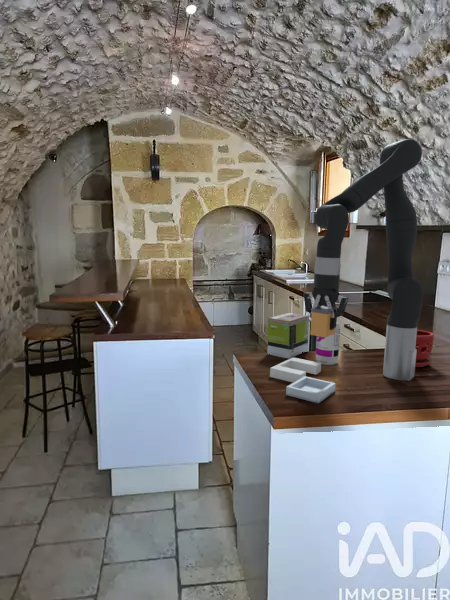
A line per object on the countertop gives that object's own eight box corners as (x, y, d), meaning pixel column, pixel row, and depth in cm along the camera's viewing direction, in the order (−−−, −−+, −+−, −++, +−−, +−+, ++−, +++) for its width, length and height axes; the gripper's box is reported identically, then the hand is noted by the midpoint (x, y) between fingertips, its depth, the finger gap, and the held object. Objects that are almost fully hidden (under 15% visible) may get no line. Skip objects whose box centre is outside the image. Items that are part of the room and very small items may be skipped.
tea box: (286, 347, 178) (288, 311, 176) (308, 351, 172) (310, 315, 170) (266, 354, 167) (267, 316, 165) (288, 359, 161) (290, 320, 158)
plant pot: (432, 362, 161) (435, 330, 160) (428, 371, 150) (432, 337, 148) (395, 356, 168) (398, 326, 166) (389, 364, 157) (391, 332, 155)
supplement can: (321, 366, 153) (324, 324, 151) (311, 359, 161) (313, 320, 159) (342, 364, 155) (345, 323, 153) (330, 358, 163) (333, 319, 161)
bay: (320, 371, 147) (321, 363, 146) (299, 384, 134) (300, 374, 133) (292, 365, 153) (292, 357, 152) (269, 376, 140) (270, 367, 140)
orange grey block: (335, 333, 134) (337, 308, 132) (325, 337, 128) (327, 311, 127) (320, 331, 137) (321, 306, 135) (310, 334, 131) (312, 308, 130)
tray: (335, 391, 128) (335, 383, 128) (318, 403, 119) (318, 394, 118) (304, 383, 134) (304, 376, 134) (286, 394, 125) (286, 386, 124)
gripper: (355, 274, 128) (350, 330, 131) (310, 270, 137) (307, 322, 139) (345, 275, 122) (340, 334, 125) (299, 271, 131) (296, 326, 133)
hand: (323, 327), depth 132 cm, fingers closed on orange grey block, 5 cm apart
